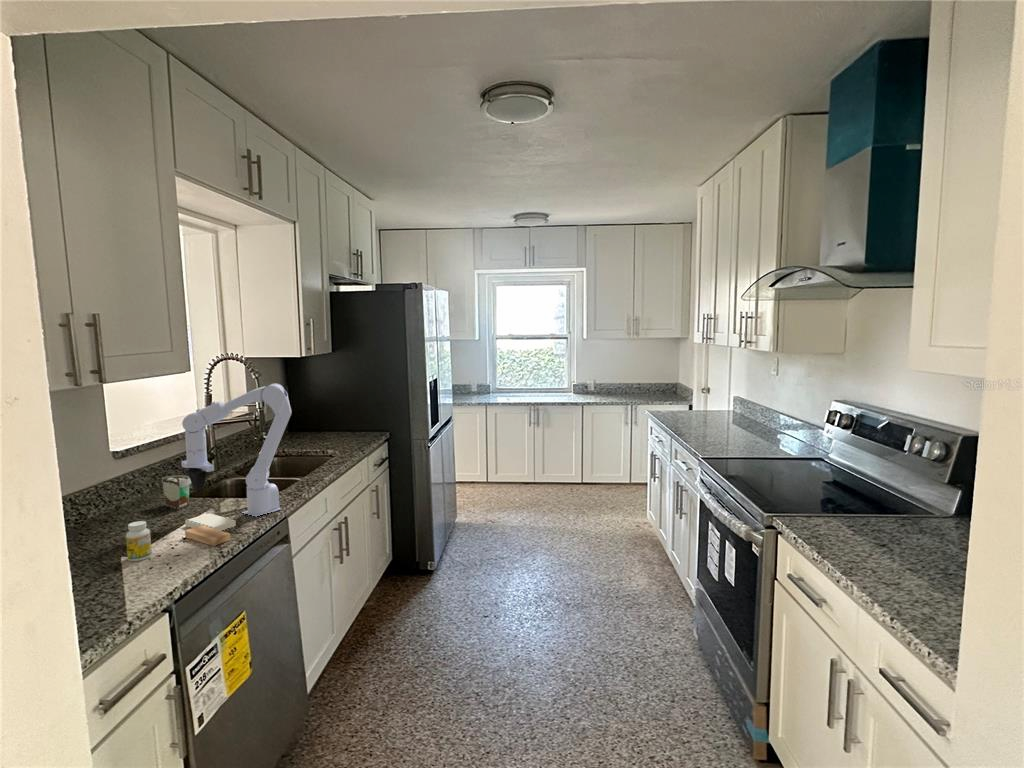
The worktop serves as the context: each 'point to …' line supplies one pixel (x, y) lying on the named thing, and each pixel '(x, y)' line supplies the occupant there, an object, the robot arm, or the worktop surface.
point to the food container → (176, 491)
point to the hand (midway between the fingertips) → (198, 490)
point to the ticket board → (211, 522)
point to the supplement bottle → (138, 541)
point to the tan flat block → (207, 535)
